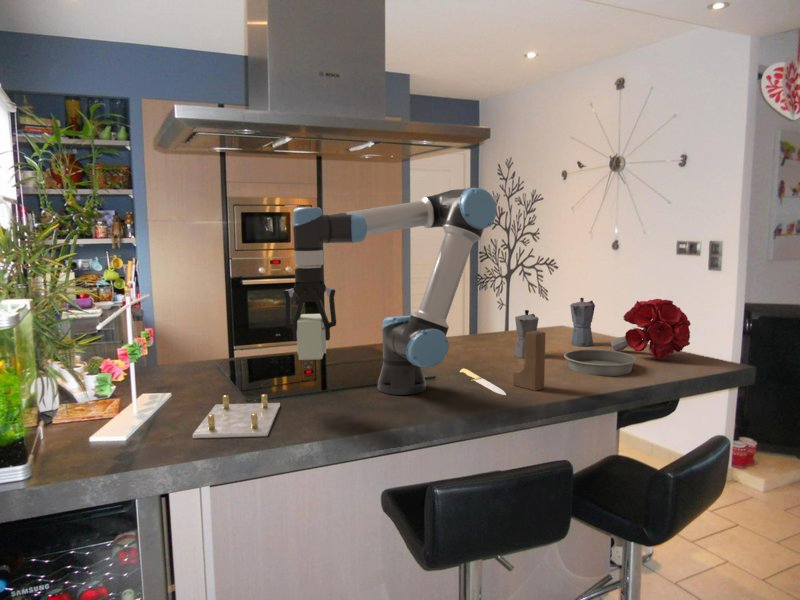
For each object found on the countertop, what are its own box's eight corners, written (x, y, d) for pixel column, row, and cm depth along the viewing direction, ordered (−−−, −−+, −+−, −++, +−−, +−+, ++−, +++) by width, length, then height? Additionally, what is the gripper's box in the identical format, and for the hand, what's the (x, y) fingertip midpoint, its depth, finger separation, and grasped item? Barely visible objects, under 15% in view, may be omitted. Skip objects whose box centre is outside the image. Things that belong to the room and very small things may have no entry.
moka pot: (562, 345, 251) (563, 298, 249) (581, 340, 262) (583, 294, 259) (582, 348, 244) (584, 300, 242) (601, 343, 255) (603, 296, 252)
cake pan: (594, 357, 230) (594, 346, 229) (651, 371, 209) (652, 358, 208) (548, 366, 217) (549, 354, 216) (604, 381, 196) (605, 368, 195)
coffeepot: (531, 360, 224) (533, 313, 222) (508, 357, 229) (508, 311, 227) (544, 352, 237) (546, 307, 235) (522, 350, 242) (523, 306, 240)
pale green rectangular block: (324, 349, 166) (323, 313, 165) (322, 359, 155) (320, 321, 153) (302, 349, 166) (301, 314, 165) (298, 359, 154) (297, 321, 153)
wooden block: (512, 385, 191) (513, 329, 188) (521, 382, 194) (523, 328, 191) (535, 391, 184) (536, 334, 182) (544, 388, 187) (546, 332, 184)
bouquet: (611, 375, 228) (684, 347, 207) (588, 318, 235) (656, 285, 214) (639, 369, 242) (709, 343, 222) (616, 316, 249) (682, 285, 229)
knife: (496, 395, 179) (510, 392, 180) (453, 369, 209) (465, 367, 211) (497, 400, 179) (510, 396, 180) (454, 373, 210) (466, 370, 211)
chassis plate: (279, 406, 171) (279, 390, 170) (267, 436, 147) (266, 418, 146) (215, 407, 170) (215, 392, 169) (192, 438, 146) (191, 420, 145)
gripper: (345, 264, 161) (347, 348, 165) (274, 266, 160) (278, 350, 163) (345, 267, 154) (347, 354, 157) (270, 268, 153) (274, 356, 156)
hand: (312, 352), depth 160 cm, fingers closed on pale green rectangular block, 6 cm apart
